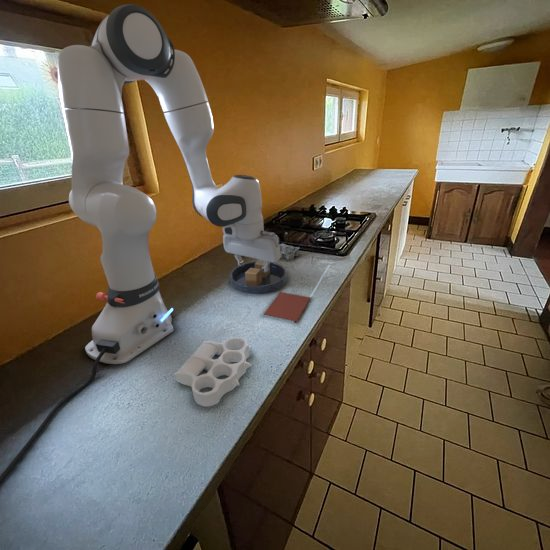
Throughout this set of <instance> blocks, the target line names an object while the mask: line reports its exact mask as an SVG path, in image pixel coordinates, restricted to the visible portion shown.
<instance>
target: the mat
mask: <svg viewBox="0 0 550 550" xmlns="http://www.w3.org/2000/svg"><path fill="white" fill-rule="evenodd" d="M310 300H311V297H310V296H304V295H299V294H298V295H297V294H293V293H288V292H283V291H280V292H279V293H278V295H276V297H275V299H274V300H273V301H272V302H271V303H270V304H269V306H268V308H266V310H265V311H264V312H263V315H266V316H270V317H274V318H277V319H283V320H288V321H292V322H294V323H296V324H297V323H298V321H299V320H300V318H301V316H302V314H303V313H304V311H305V309H306V307H307V306H308V304H309V302H310Z"/></svg>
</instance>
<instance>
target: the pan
mask: <svg viewBox="0 0 550 550" xmlns="http://www.w3.org/2000/svg"><path fill="white" fill-rule="evenodd" d="M257 261H258V260H256V261H250V262H249V261H248V262H244V263H245V265H244V266H243V267H241V266H238V265H237V266H235V267H234V268H233V269H232V270H231V271H230V273H229V281H230V285H231V287H232V288H233V289H234V290H236V291H238V292H241V293H244V294H250V295H261V294H268V293H271V292H274V291H277V290H279V289H280V288H282V287H283V286H284V285H285V284H286V283H287V278H288V277H287V271H286V270H287V269H286V268H285V267H284V266H283V265H281V264H279V263H276V262H275V263H272V262H270V274H269V275H268V276H267V277H266V278H262V283H261V284H260V285H259V286H247V285H246V278H245V272H246V271H247V270H248V269H250V268H255V265H254V264H255V263H256V262H257Z"/></svg>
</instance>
